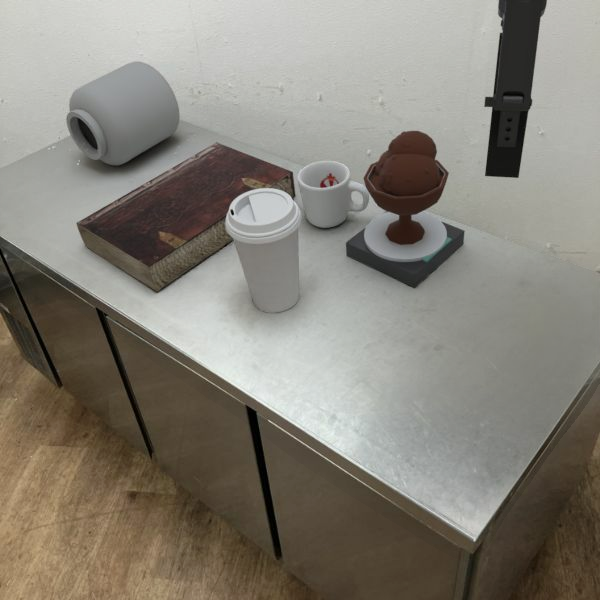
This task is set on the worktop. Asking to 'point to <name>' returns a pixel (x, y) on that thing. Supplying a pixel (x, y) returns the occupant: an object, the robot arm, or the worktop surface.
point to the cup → (329, 193)
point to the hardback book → (178, 214)
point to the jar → (122, 113)
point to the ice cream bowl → (407, 183)
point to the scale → (405, 248)
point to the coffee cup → (267, 246)
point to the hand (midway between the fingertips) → (504, 135)
